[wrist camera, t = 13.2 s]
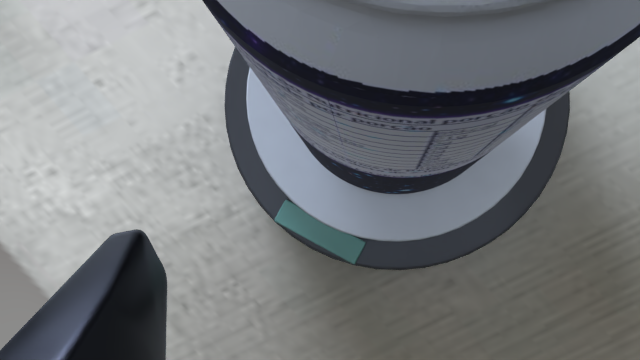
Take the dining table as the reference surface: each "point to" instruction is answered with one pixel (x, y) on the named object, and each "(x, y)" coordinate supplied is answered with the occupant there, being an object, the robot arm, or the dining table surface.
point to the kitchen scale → (379, 208)
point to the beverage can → (419, 75)
